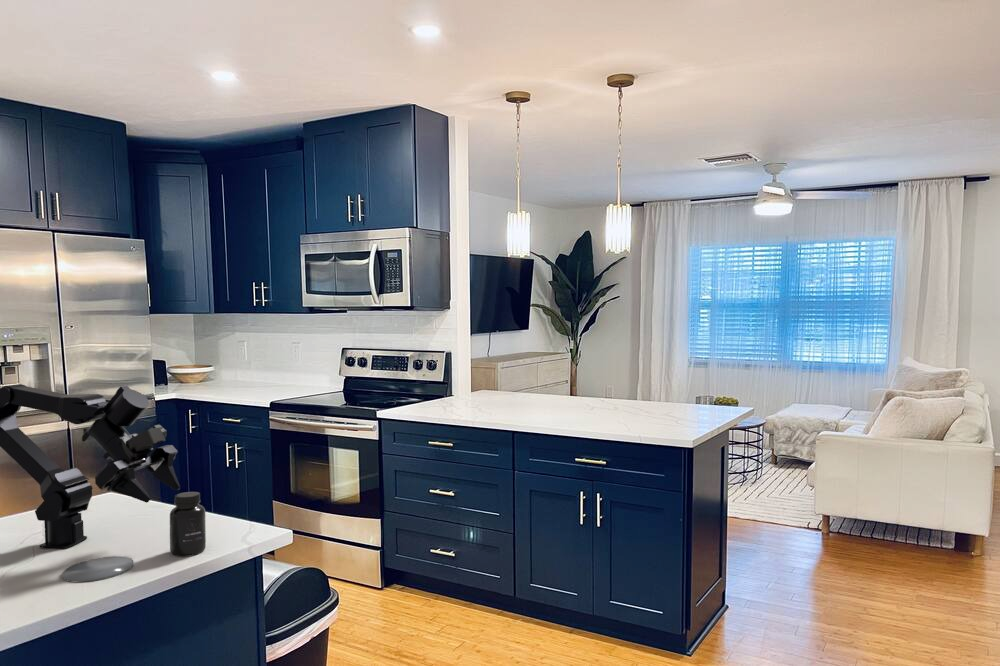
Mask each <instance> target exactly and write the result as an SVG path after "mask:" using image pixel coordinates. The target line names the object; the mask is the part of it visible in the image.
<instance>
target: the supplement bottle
mask: <svg viewBox="0 0 1000 666" xmlns="http://www.w3.org/2000/svg"><path fill="white" fill-rule="evenodd" d="M200 503H201V493H200V492H198V491H187V492H185V491H184V492H180V493H176V494H175V495H174V507H173V508H172V509H171V510H170V513H169V551H170V554H171V555H172V556H174V557H190V555H191V556H194V555H198V553H199V554H201V553H202V551H203V552H204V551H205V550H206V545H207V544H206V542H207V540H206V539H207V537H206V532H207V531H206V528H207V527H206V509H205V507H204V506H203V505H201V504H200Z"/></svg>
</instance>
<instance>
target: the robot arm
mask: <svg viewBox="0 0 1000 666" xmlns="http://www.w3.org/2000/svg"><path fill="white" fill-rule="evenodd" d="M149 405H150V400H149V399H148V397H147V396H146V395H145V394H142V393H141V392H139V391H137V390H134V389H132V388H131V387H129V386H128V385H124V386H119V387H118V388H117V390H116V392H115V393H114V395H113V396H112V397H111V398H110V399H106V398H105V396H104V395H102V394H99V393H82V394H80V393H79V394H66V393H62V392H61V393H60V392H58V391H52V390H47V389H42V388H37V387H32V386H27V385H25V384H22V383H18V384H9V385H3V386H1V387H0V448H1V449H2V450H3V451H4V452H5V453H6V454H7V455H8V456H9V457H11V459H13V461H15V463H17V464H18V465H19V466H20V467H21V468H22V469H23V470H24V471H25V472H26V473H27V474H28V475H29V476H30V477H31V478H32V479H33V480H34V481H35V482H36V483H38V485H39V489H40V496H41V498H42V500H43V501H42V502H41V503H40V505H39V506H38V507H37V508H36V509H35V511H34V512H35V516H36V519H37V521H39V522H40V521H41V522H42V521H43V522H44V523H43V524H44V543H41V544H39V548H42V549H43V548H45V549H46V548H48V549H49V548H50V549H51V548H52V549H68V548H71V547H72V546H75V545H76V544H79V543H80V542H83V541H85V540H87V539H88V536H87V535H84V520H82V512H83V511H88V507H89V504H90V501H91V499H92V496H93V485H92V484H91V483H90V478H89V477H86V476H85V475H84V474H83V473H82V472H81V470H80V469H78V468H77V467H73V468H69V469H66V470H65V469H63V468H61V467H60V466H59V465H58V464H57V463H56V462H55V461H54V460H53V459H52V458H50V456H49V455H48V454H46V452H44V451H43V449H41V448H40V447H39V446H38V445H37V443H36V442H34V441H33V440H32V439H31V438H30V437H29V436H28V435H26V434H25V433H24V431H22V430H21V428H19V427H18V419H17V415H16V414H17V413H18V412H19V411H20V410H21V408H22V407H24V408H28V409H32V410H39V411H43V412H47V413H52V414H55V415H58V416H59V418H60V419H61V420H63V421H65V422H68V423H71V424H73V425H82V424H83V425H84V424H87V423H92V424H91V425H90V426H88V427H85V428H83V429H82V431H83V432H82V433H83V434H82V436H81V441H82V442H89V441H92V440H94V441H95V442H96V443H97V445H98V446H99V447H100V448H101V449H102V451H104V453H105V454H103V456H102V457H103V459H105V460H106V461H107V460H110V459H111V461H108V462H107V463H105V465H104V466H103V467H102V468H101V470H100V471H99V472H98V473H97V474H96V475H95V476H94V481H95V483H94V484H95V485H96V486H97V487H98V488H99V490H101V491H103V490H107V491H108V492H111V491H112V492H115V493H118V494H122V495H124V496H128V497H131V498H133V499H136V500H138V501H141V502H144V503H146V504H147V503H149V502H150V501H151V500H152V499H151V497H150V495H149V493H148V492H147V490H145V488H144V487H143V485H142V484H141V483H140V481H139V480H138V479H137V478H136V471H138V470H141V469H144V468H145V469H146V470H147V471H148V472H151V476H152V477H153V478H155V479H156V480H158V481H160V482H161V483H163V484H164V485H166V486H168V488H171V489H172V490H175V491H179V490H180V489H181V485H180V482H179V480H178V477H177V475H176V472H175V468H174V460H175V459H176V455H177V453H178V452H179V451H178V449H176V447H175V446H174V445H173V444H166V445H163V446H160V447H156V448H155V450H154V448H153V447H155V446H156V445H158V444H160V443H164V442H166V438H167V435H168V434H167V429H165V428H164V427H163V426H162V425H161V424H156V425H153V426H152V427H149V428H148V430H144V431H143V432H140V433H132V434H131V433H130V432H129V431H128V430H127V429H126V428H125V427H132V425H134V423H135V422H136V421H137V420H138V419H139V417H140V416H142V414H143V413H144V412H145V411H146V409H147V408H148V407H149ZM152 451H153V452H152ZM151 452H152V453H151ZM149 454H150V455H149Z"/></svg>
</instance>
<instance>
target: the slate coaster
mask: <svg viewBox="0 0 1000 666" xmlns="http://www.w3.org/2000/svg"><path fill="white" fill-rule="evenodd" d="M134 562H135V561H134V559H133V558H131V557H127V556H120V555H119V556H115V555H114V556H113V555H112V556H111V555H110V556H101V557H95V558H92V559H87V560H83V561H80V562H76V563H75V564H72V565H70V566H68V567H67V568H65V569H64V570H63V571H62V574H61V575H62V576H61V578H62V577H63V578H62V579H63V580H64V579H65V581H67V580H68V581H67V582H71V581H89V582H95V581H94V580H97V581H102V580H106V578H107V579H109V578H110V577H111V578H114V577H117V576H120V575H122V574H125V573H127V572H128V571H130V570H131V569H132V568H133V567H134V564H135V563H134ZM129 569H130V570H129ZM119 574H120V575H119ZM116 575H117V576H116ZM113 576H114V577H113ZM101 579H102V580H101Z"/></svg>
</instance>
